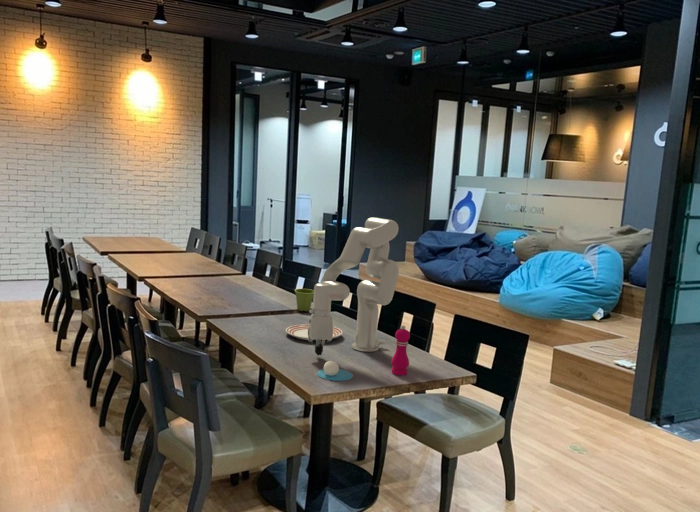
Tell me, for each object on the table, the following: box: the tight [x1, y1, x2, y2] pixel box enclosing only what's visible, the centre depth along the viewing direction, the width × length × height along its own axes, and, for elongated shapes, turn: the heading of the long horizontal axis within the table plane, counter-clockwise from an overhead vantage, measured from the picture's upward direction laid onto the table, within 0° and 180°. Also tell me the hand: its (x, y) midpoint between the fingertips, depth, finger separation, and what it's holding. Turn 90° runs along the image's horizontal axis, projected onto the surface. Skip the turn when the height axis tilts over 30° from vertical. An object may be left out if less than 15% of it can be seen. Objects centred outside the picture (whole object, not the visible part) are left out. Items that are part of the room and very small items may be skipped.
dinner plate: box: [285, 323, 343, 342], centre depth 292 cm, size 27×27×3 cm
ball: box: [323, 360, 340, 376], centre depth 236 cm, size 6×6×6 cm
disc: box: [316, 368, 354, 382], centre depth 238 cm, size 14×14×1 cm
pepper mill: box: [390, 325, 411, 376], centre depth 244 cm, size 7×7×20 cm
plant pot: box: [294, 288, 314, 312], centre depth 344 cm, size 12×12×11 cm
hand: (318, 354), depth 258 cm, fingers closed
